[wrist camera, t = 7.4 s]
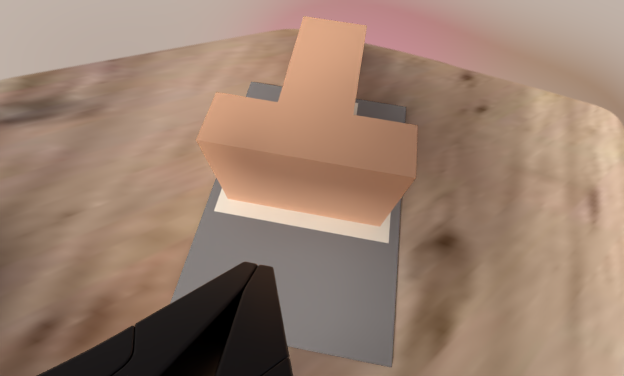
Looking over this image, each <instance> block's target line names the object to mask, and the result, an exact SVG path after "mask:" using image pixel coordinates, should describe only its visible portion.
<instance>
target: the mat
mask: <svg viewBox="0 0 624 376" xmlns="http://www.w3.org/2000/svg"><path fill="white" fill-rule="evenodd" d="M281 90H282V87H280V86H274V85H268V84H262V83H256V82H251V84H250V87H249V89H248V92H247V95H246V97H249V98H255V99H261V100H267V101H273V102H278V100H279V97H280V93H281ZM353 115H358V116H364V117H370V118H376V119H382V120H388V121H394V122H400V123H405V117H406V107H403V106H397V105H391V104H385V103H379V102H372V101H366V100H360V99H356V101H355V107H354V114H353ZM400 208H401V199H400V200H399V202H398V203H397V204H396V206H395V207H394V208H393V210H392V211H391V212H390V214H389V215H388V216H387V218H386V219H385V220H384V222H383V223H382V224H381V226H380V227H379V226H374V225H368V224H363V223H357V222H352V221H346V220H341V219H336V218H330V217H325V216H319V215H314V214H308V213H303V212H297V211H292V210H286V209H281V208H275V207H270V206H264V205H259V204H253V203H248V202H242V201H237V200H231V199H228V198H227V196H226V194H225V193H224V191H223V189H222V187H221V185H220V183H219V181H218V180H217V178H216V180H215V182H214V185H213V188H212V191H211V193H210V196H209V199H208V202H207V204H206V207H205V210H204V212H203V215H202V218H201V221H200V223H199V226H198V229H197V232H196V234H195V237H194V240H193V243H192V245H191V248H190V251H189V254H188V256H187V259H186V262H185V264H184V267H183V270H182V273H181V275H180V278H179V281H178V284H177V286H176V289H175V292H174V295H173V297H172V300H171V303H172V302H174V301H176V300H178V299H179V298H181V297H183V296H185V295H186V294H188V293H190V292H192V291H193V290H195V289H197V288H199V287H200V286H202V285H204V284H205V283H207V282H209V281H211V280H212V279H214V278H216V277H218V276H219V275H221V274H223V273H225V272H226V271H228V270H230V269H232V268H233V267H235V266H237V265H239V264H240V263H242V262H251V263H256V264H258V266H259V265H266V266H271V267H273V269H274V274H275V279H276V285H277V290H278V296H279V301H280V307H281V313H282V318H283V324H284V329H285V335H286V341H287V346H289V347H294V348H299V349H304V350H309V351H314V352H319V353H324V354H328V355H333V356H338V357H343V358H348V359H353V360H358V361H363V362H368V363H372V364H377V365H382V366H387V367H392V353H393V335H394V317H395V299H396V280H397V262H398V244H399V226H400ZM171 303H170V304H171Z"/></svg>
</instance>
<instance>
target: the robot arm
mask: <svg viewBox="0 0 624 376" xmlns="http://www.w3.org/2000/svg"><path fill="white" fill-rule="evenodd" d="M37 376H293V373H292V367H291V362H290V359H289V352H288V346H287V341H286V335H285V329H284V324H283V318H282V313H281V307H280V301H279V296H278V290H277V285H276V279H275V274H274V269H273V267H271V266H266V265H259V266H258V264H256V263H251V262H242V263H240V264H239V265H237V266H235V267H233V268H232V269H230V270H228V271H226V272H225V273H223V274H221V275H219V276H218V277H216V278H214V279H212V280H211V281H209V282H207V283H205V284H204V285H202V286H200V287H199V288H197V289H195V290H193V291H192V292H190V293H188V294H186V295H185V296H183V297H181V298H179V299H178V300H176V301H174V302H172V303H171V304H169V305H167V306H165V307H164V308H162V309H160V310H159V311H157V312H155V313H153V314H152V315H150V316H148V317H146V318H145V319H143V320H141V321H139V322H138V323H136V324H135V327H134V326H130V327H129V328H127V329H125V330H124V331H122V332H120V333H118V334H117V335H115V336H113V337H111V338H109V339H107V340H106V341H104V342H102V343H100V344H98V345H97V346H95V347H93V348H91V349H89V350H87V351H85V352H83V353H81V354H79V355H77V356H75V357H73V358H71V359H69V360H68V361H66V362H64V363H62V364H60V365H58V366H56V367H54V368H51V369H49V370H47V371H45V372H43V373H41V374H39V375H37Z"/></svg>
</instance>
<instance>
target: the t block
mask: <svg viewBox="0 0 624 376" xmlns="http://www.w3.org/2000/svg"><path fill="white" fill-rule="evenodd" d="M366 28H367V26H365V25H358V24H352V23H345V22H338V21H331V20H325V19H318V18H312V17H306V16H304V17H303V20H302V23H301V27H300V30H299V33H298V37H297V40H296V43H295V47H294V50H293V53H292V57H291V60H290V63H289V67H288V70H287V73H286V77H285V80H284V83H283V87H282V90H281V93H280V97H279V100H278V102H273V101H267V100H261V99H255V98H249V97H243V96H237V95H231V94H225V93H219V92H216V94H215V96H214V99H213V101H212V103H211V106H210V108H209V110H208V113H207V115H206V117H205V120H204V122H203V124H202V127H201V129H200V131H199V134H198V136H197V138H196V141H197V143H198V145H199V146H200V148H201V150H202V152H203V154H204V156H205V157H206V159H207V161H208V163H209V165H210V167H211V169H212V170H213V172H214V174H215V176H216V178H217V180H218V181H219V183H220V185H221V187H222V189H223V191H224V193H225V194H226V196H227V198H228V199H231V200H237V201H242V202H248V203H253V204H259V205H264V206H270V207H275V208H281V209H286V210H292V211H297V212H303V213H308V214H314V215H319V216H325V217H330V218H336V219H341V220H346V221H352V222H357V223H363V224H368V225H374V226H379V227H380V226H381V224H382V223H383V222H384V220H385V219H386V218H387V216H388V215H389V214H390V212H391V211H392V210H393V208H394V207H395V206H396V204H397V203H398V202H399V200H400V199H401V198H402V196H403V195H404V194H405V192H406V191H407V189H408V188H409V187H410V185H411V184H412V183H413V181H414V180H415V179H416V163H417V131H418V125H413V124H406V123H400V122H394V121H388V120H382V119H376V118H370V117H364V116H358V115H353V114H354V107H355V101H356V94H357V87H358V81H359V74H360V68H361V61H362V55H363V48H364V41H365V35H366Z"/></svg>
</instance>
